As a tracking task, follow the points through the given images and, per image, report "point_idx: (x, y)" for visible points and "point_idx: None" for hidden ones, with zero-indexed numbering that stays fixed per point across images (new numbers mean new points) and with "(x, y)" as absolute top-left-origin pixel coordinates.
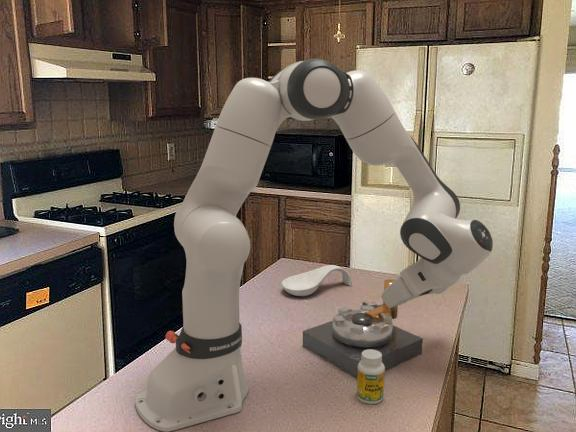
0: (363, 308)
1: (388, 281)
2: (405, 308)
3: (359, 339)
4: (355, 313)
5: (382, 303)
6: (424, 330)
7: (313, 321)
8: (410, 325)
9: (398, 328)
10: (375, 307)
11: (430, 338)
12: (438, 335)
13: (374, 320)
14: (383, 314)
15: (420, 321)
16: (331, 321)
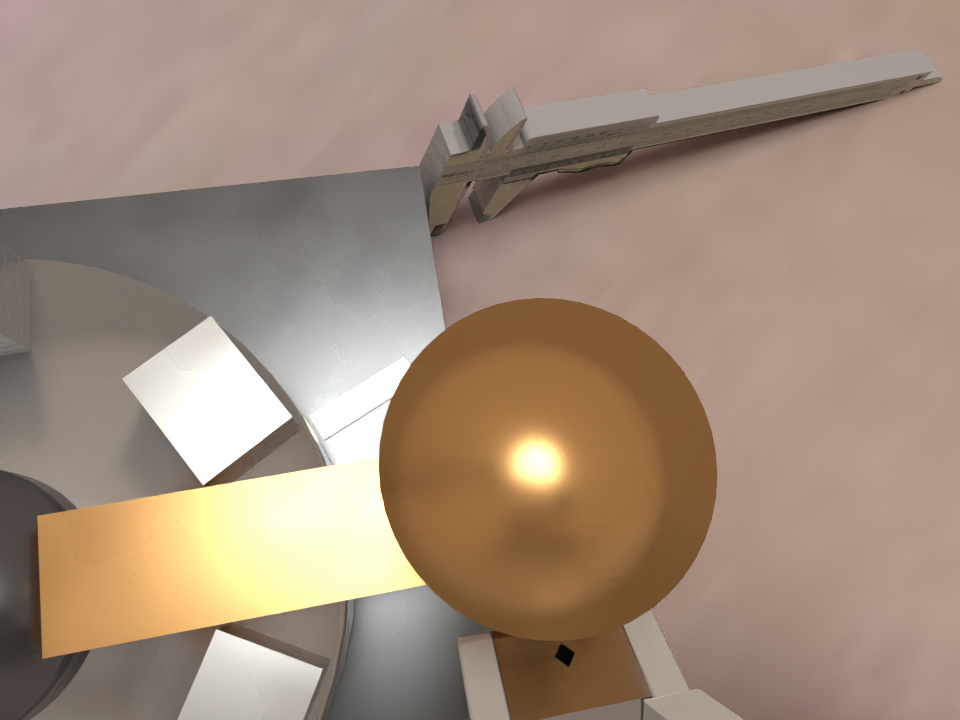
0: (136, 392)
1: (502, 399)
2: (924, 171)
3: None
4: (77, 364)
5: (746, 91)
6: (828, 552)
7: (140, 15)
8: (778, 423)
9: None
10: (628, 136)
11: (783, 699)
12: (880, 686)
13: (124, 644)
14: (223, 684)
15: (897, 406)
16: (14, 213)
